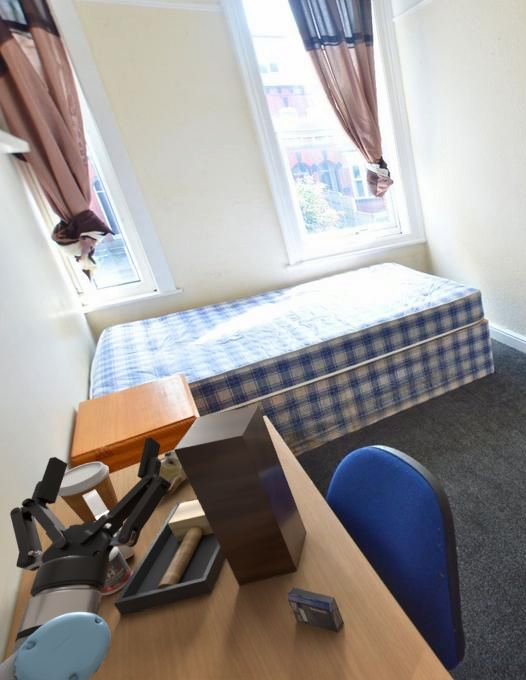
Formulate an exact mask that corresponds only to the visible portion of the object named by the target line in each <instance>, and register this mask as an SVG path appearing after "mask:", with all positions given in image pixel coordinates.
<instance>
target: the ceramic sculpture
mask: <svg viewBox="0 0 526 680" xmlns="http://www.w3.org/2000/svg"><path fill="white" fill-rule="evenodd" d="M160 460H161V468H160V473H159V476H162V477H163V478H165V479H166V480H168V481H169V482H171V486H170V488H169V489H168V491H167V492H166V494H165V495H164V497H166V496H169V495H171V494H172V493H174V492H175V491H176V490H177V488H178V487H179V486H180V484H181V483H182V482H183V481H185V480H186V479H188V478H187V476H186V474H185V472H184V470H183V468H182V466H181V464H180V462H179V460H178V457H177V455H176V453H175V451H174V450H170V451H168V452H165V453H164V457H163V458H160Z"/></svg>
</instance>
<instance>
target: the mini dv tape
mask: <svg viewBox="0 0 526 680" xmlns="http://www.w3.org/2000/svg"><path fill="white" fill-rule="evenodd" d="M286 598H287V601H288V603H289V606H290V608H291V610H292V613H293V615H294V617H295V620H296V621H297V622H299V623H303V624H307V625H309V626H313V627H317V628H321V629H325V630H328V631H333V632H336V633H339V631H340V630H341V628H342V627H343V626H344V625H345V624H344V623H345V621H344V619H343V617H342V614H341V612H340V608H339V606H338V604H337V600H336V598H335V597H334V596H331V595H326V594H323V593H318V592H313V591H310V590H305V589H301V588H298V587H291V589H290V591H288V593H287V594H286Z"/></svg>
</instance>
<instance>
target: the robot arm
mask: <svg viewBox="0 0 526 680" xmlns="http://www.w3.org/2000/svg"><path fill="white" fill-rule="evenodd" d="M160 448H161V443H159V442H158V441H156V439H154V438H153V437H151V436H150V437H146V438H145V440H144V444H143V448H142V454H141V458H140V462H139V466H138V472H137V475H136V476H137V477H138V479H140V480H139V481H138V482H137V483H136V484H135V485H134V486H133V487H132V488H131V489H130V490H129V491H128V492H127V493H126V494H125V495H124V496H123V497H122V498H121V499H120V500H118V503H117V504H116V505H115V506H114V507H113V508H112V509H111V510H110V511H109V512H108V513H107V514H104V515H102V516H101V517H100V518H99V519H98V520H97V521H94V520H93V521H89V522H86V523H84V522H83V523H81V524H71V525H69V527H66V526H65V525H64V524H63V522H62V521H61V520H60V519H59V518H58V516H57V515H56V514H55V513H54V511H52V510H51V508H50V507H49V506H48V505H52V504H56V502H57V498H58V496H59V495H58V492H59V489H60V486H61V483H62V480H63V477H64V474H65V473H66V472H67V471H66V470H67V468H68V463H67V462H65V461H63V460H62V459H60V458H58V457H56V456H53V457H49V458H48V462H47V465H46V467H45V470H44V473H43V476H42V479H41V480H39V481H38V482H37V483H36V485H35V488H34V490H33V494H32V495H31V497H28V498H25V499H24V500H23V501H22V502H21V507H20V506H19V507H17V506H16V507H14V508H12V510H10V512H9V516H10V519H11V524H12V528H13V532H14V536H15V541H16V544H17V549H18V556H17V560H16V565H15V567H17V568H19V569H22V570H27V571H30V572H35V571H36V572H35V573H36V574H35V576H34V580H33V583H32V585H31V589H30V592H29V594H30V595H31V598H29V599H28V600H27V602H26V603H25V607H24V610H23V613H22V616H21V619H20V623H19V627H18V630H17V632H16V637H15V640H14V645H13V648H12V650H11V654H10V656H9V657H8V658H6V659H5V660H4V661H3V662H1V663H0V680H89V679H90V678H91V677H92V676H93V675H94V674H95V673H96V672H98V670H99V669H100V668H101V667H102V663H103V661H105V659H106V656H107V654H108V651H109V649H110V645H111V640H112V639H111V638H112V637H111V630H110V626H109V624H108V623H107V622H106V620H105V619H104V618H103V617H102V616H100V615H99V611H100V606H101V602H102V598H103V595H102V593H101V592H100V590H101V589H103V588H104V586H105V583H106V578H107V574H108V570H109V565H110V562H109V555H110V553H111V551H112V549H113V548H114V547H117V546H128V547H131V548H134V547H135V546H136V545H138V541H139V538H140V535H141V533H142V532H141V531H142V530H143V529H144V528H145V525H146V524H147V523H148V521H149V519H150V518H151V516H152V515H153V514H154V512H155V511H156V509H157V507H158V506H159V504H160V503H161V501H162V500H163V498H164V497H165V496H164V495H165V494H166V492H167V491H168V489H169V488H170V486H171V482H169V481H168V480H166V479H165V478H163V477H162V476H159V473H160V468H161V458H160V459H159V455H160ZM47 504H48V505H47ZM35 520H36V521H35ZM36 522H38V524H39V525H40V526H41V528H42V529H43V530H44V532H45V535H46V536H47V537H48V538H49V540H50V541H51V542H52V543H51V544H50V545H49V546H48V547H47V548H46V549H45V551H44V550H43V546H42V542H41V539H40V535H39V531H38V528H37V524H36ZM107 523H109V524H111V526H110V527H109V528H107V526H106V524H107ZM119 529H121V530H119ZM118 530H119V531H118ZM116 532H117V535H116V536H115V537H114V534H115V533H116Z"/></svg>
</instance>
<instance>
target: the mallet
mask: <svg viewBox="0 0 526 680" xmlns="http://www.w3.org/2000/svg"><path fill="white" fill-rule="evenodd" d="M168 525H169V527H170V528H171V530H172V532H173V534H174V536H175V538H176V540H177V542H179V541H182V543H181V545H180V547H179V549H178V550H177V552H176V554H175V556H174V558H173V559H172V561H171V563H170V565H169V567H168V569H167V570H166V572H165V574H164V576H163V578H162V579H161V581H160V583H159V585H158V587H157V589H161V588H165V587H169V586H173V585H177V584H178V583H179V581H180V579H181V577H182V575H183V573H184V571H185V569H186V567H187V565H188V563H189V561H190V559H191V557H192V555H193V553H194V551H195V549H196V547H197V545H198V543H199V541H200V539H201V537H202V536H204V535H208V534H213V533H214V532H213V530H212V528H211V526H210V524H209V522H208V520H207V518H206V516H205V514H204V512H203V509H202V507H201V505H200V503H199V501H198V499H197V500H193V501H189V502H184V503H180V505H179V506H178V508H177V510H176V511H175V513H174V514H173V516H172V518H171V519H170V521H169V523H168Z"/></svg>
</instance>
